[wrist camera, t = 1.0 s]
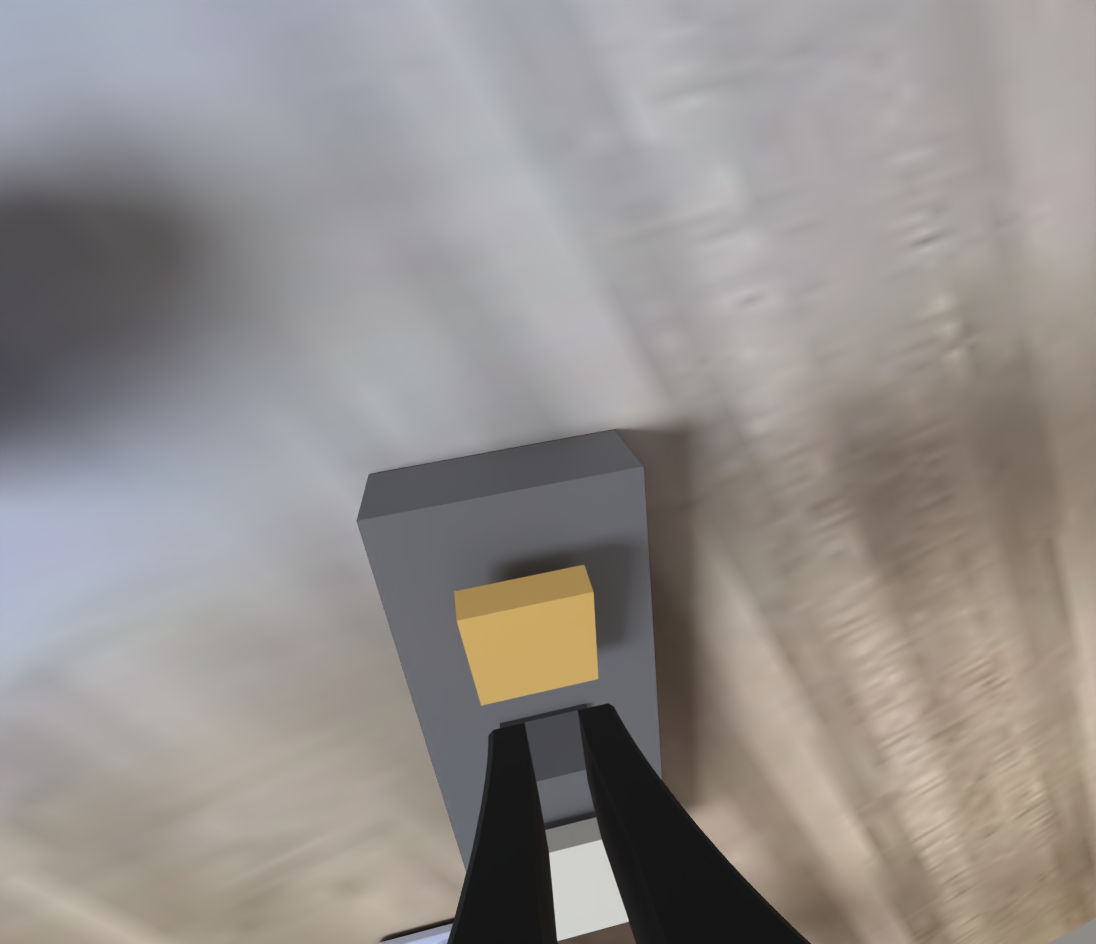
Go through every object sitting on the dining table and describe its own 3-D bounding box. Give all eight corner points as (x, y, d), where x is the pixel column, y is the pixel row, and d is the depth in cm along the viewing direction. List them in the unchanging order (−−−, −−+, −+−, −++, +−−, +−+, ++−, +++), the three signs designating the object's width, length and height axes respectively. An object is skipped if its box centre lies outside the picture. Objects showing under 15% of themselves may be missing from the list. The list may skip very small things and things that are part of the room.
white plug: (623, 896, 23) (630, 921, 22) (533, 920, 22) (536, 946, 21) (609, 813, 22) (616, 835, 21) (516, 837, 21) (518, 860, 20)
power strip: (648, 854, 29) (671, 925, 26) (490, 895, 28) (496, 973, 25) (614, 429, 19) (646, 469, 16) (368, 474, 18) (355, 524, 15)
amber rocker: (590, 651, 18) (598, 678, 18) (477, 676, 18) (481, 705, 17) (584, 564, 16) (593, 591, 15) (454, 591, 16) (456, 620, 15)
